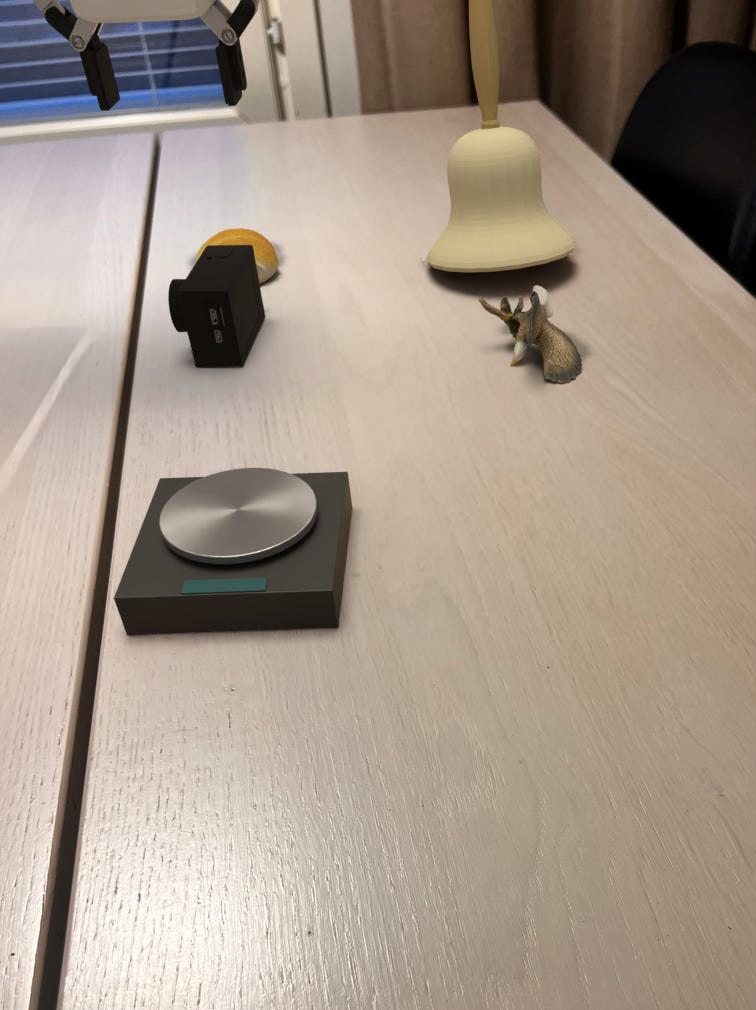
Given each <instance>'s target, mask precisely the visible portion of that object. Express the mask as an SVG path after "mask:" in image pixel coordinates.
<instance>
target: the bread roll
mask: <svg viewBox="0 0 756 1010" xmlns="http://www.w3.org/2000/svg"><path fill="white" fill-rule="evenodd" d="M208 245H253V250H254V255H255V261H256V267H257V272H258V278H259V284H260V285H261V284H263V283H266V281H267V280H269V279H271V278H272V277H273V276H274V275H275V274H276V272H277V270H278V267H279V263H280V262H279V258H278V256H277V254H276V250H275V248H274V246H273V244H272V242H271V241H270V240H269V239H267V237H265V236H264V235H263V234H261V233H259V232H258V231H256V230H253V229H249V228H244V227H241V228H228V229H223V230H221V231H219V232H217V233H215V234H214V235H212V236H211V237H209V238H208V239H207V240H206V241H205V242H204V243H203V244H201V246H200V247H199V250H198V251H197V254H196V257H195V263H196V262H197V260H198V259H199V257H200V256H201V254H202V252H203V251H204V249H205V248H206V246H208Z"/></svg>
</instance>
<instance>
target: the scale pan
mask: <svg viewBox="0 0 756 1010" xmlns="http://www.w3.org/2000/svg"><path fill="white" fill-rule="evenodd" d="M293 474H294V473H289V472H287V471H283V470H279V469H275V468H273V469H272V468H268V467H267V468H266V467H242V468H234V469H228V470H227V469H226V470H223V471H219V472H214V473H212V474H209V475H206V476H202V477H203V478H201V479H198V480H196V481H194V482H192V483H190V484H188V485H186V486H185V487H183V488H182V489H180V490H179V491H178V492H177V493H175V494H174V495H173V496H172V497H171V498H170V499H169V500H168V501H167V503H166V504H165V506H164V507H163V509H162V511H161V514H160V518H159V527H160V531H161V534H162V537H163V539H164V541H165V543H166V544H167V545H168V546H169V548H171V549H172V550H173V551H174V552H176V553H177V554H179V555H181V556H183V557H185V558H188V559H190V560H194V561H197V562H203V563H209V564H238V563H245V562H251V561H255V560H259V559H263V558H266V557H269V556H272V555H274V554H277V553H279V552H281V551H283V550H285V549H287V548H289V547H290V546H292V545H294V544H295V543H297V542H298V541H299V540H300V539H302V538H303V537H304V536H305V535H306V534H307V533H308V532H309V530H310V529H311V528H312V526H313V524H314V522H315V520H316V517H317V514H318V506H317V500H316V496H315V493H314V491H313V490H312V488H311V487H310V486H309V485H308V484H307V483H306V482H305V481H303V480H302V479H300V478H299V477H297V476H295V475H293Z"/></svg>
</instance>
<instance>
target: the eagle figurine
mask: <svg viewBox="0 0 756 1010" xmlns="http://www.w3.org/2000/svg"><path fill="white" fill-rule="evenodd" d="M551 300H552V299H551V296H550V295H549V292H548V290H547V289H545V288H544V287H543V286H541V285H534V286H532V292H531V295H530V296H529V301H530V304H531V307H530V309H528V310H526V311H523V309H524V307H525V303H524V297H523V296H522V295H519V296H518V302H517V305H516V307H515V308H514V310H513V311H512V308H511V304H510V301H509V300H508V297H507V295H505V296H503V297H502V298H501V299H500V303H499V305H500V308H497V307H495V306H493V305H491V304H489V303H488V302H487V301H486V300H485V299H484V298H481V297H479V299H478V301H479V303H480V305H481V307H482V308H483V309H484V310H485V311H486V312H488V313H489V314H491V315H494V316H496V317H497V318H498V319H500V320H501V321H503V323H504V324H505V325H506V326H507V327H508V329H509V333H510V335H512V338H513V339H515V342H514V343H515V345H514V348H513V354H512V361H511V362H510V366H514V365H515V364H516V363H517V362H518V361H519V362H520V361H521V360H522V359H523V358H524V356H525V354H526V351H527V350H530V348H531V345H535V346H537V347H538V349H539V350H540V353H541V356H542V359H543V375H544V379H545V380H550V381H551V382H553V383H556V382H558V383H559V384H564V383H570V382H571V380H572V379H575V378H577V375H578V374H580V370H582V369H583V367H582V366H583V364H582V362H583V360H582V358H581V357H582V356H581V353H579V350H578V348H577V346H576V345H575V343H574V342H573V340H572V339H571V338H570V336H568V335H567V334H566V333H565V332H564V331H563V330H562V329H561V328H559V327H558V326H555V324H553V323H551V321H550V320H549V319H550V318H551V317H553V316H554V308H553V305H552V301H551Z"/></svg>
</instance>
